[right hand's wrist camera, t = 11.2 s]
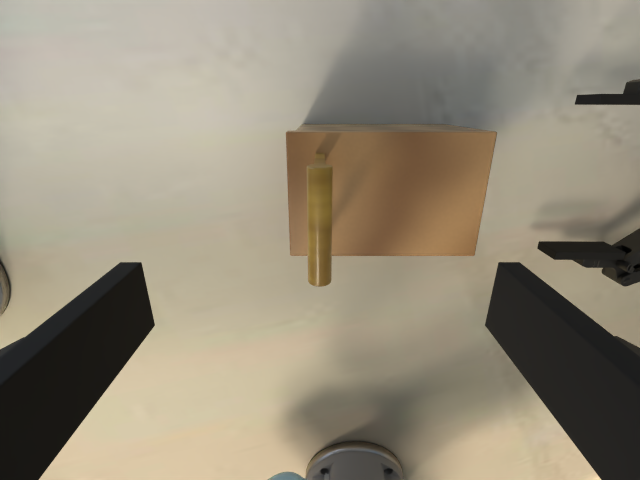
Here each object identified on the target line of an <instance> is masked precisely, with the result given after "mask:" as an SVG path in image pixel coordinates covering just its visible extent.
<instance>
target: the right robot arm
mask: <svg viewBox="0 0 640 480" xmlns="http://www.w3.org/2000/svg"><path fill="white" fill-rule="evenodd" d="M8 300H9V284H8V279H7V276H6V274H5V271H4V269H3V267H2V265H1V264H0V315H1V314H2V313H3V312H4V310H5V309H6V306H7V304H8ZM154 326H155V324H154V319H153V314H152V310H151V305H150V300H149V296H148V291H147V287H146V282H145V277H144V273H143V268H142V263H141V262H120V263H119V264H118V265H117V266H115V267H114V268H113V269H111V270H110V271H109V272H108V273H106V274H105V275H104V276H103V277H101V278H100V279H99V280H97V281H96V282H95V283H94V284H92V285H91V286H90V287H89V288H87V289H86V290H85V291H83V292H82V293H81V294H80V295H78V296H77V297H76V298H74V299H73V300H72V301H71V302H69V303H68V304H67V305H66V306H64V307H63V308H62V309H60V310H59V311H58V312H57V313H55V314H54V315H53V316H52V317H50V318H49V319H48V320H46V321H45V322H44V323H43V324H41V325H40V326H39V327H37V328H36V329H35V330H34V331H32V332H31V333H30V334H29V335H27V336H26V337H23V338H21V339H20V340H18V341H16V342H14V343H12V344H10V345H8V346H6V347H4V348H2V349H0V480H39V478H40V477H41V476H42V474H43V473H44V472H45V470H46V469H47V468H48V466H49V465H50V464H51V462H52V461H53V460H54V458H55V457H56V456H57V454H58V453H59V452H60V450H61V449H62V448H63V446H64V445H65V444H66V442H67V441H68V440H69V439H70V437H71V436H72V435H73V433H74V432H75V431H76V429H77V428H78V427H79V425H80V424H81V423H82V421H83V420H84V419H85V417H86V416H87V415H88V413H89V412H90V411H91V409H92V408H93V407H94V405H95V404H96V403H97V401H98V400H99V399H100V397H101V396H102V395H103V393H104V392H105V391H106V389H107V388H108V387H109V385H110V384H111V383H112V381H113V380H114V379H115V377H116V376H117V375H118V373H119V372H120V371H121V370H122V368H123V367H124V366H125V364H126V363H127V362H128V360H129V359H130V358H131V356H132V355H133V354H134V352H135V351H136V350H137V348H138V347H139V346H140V344H141V343H142V342H143V340H144V339H145V338H146V336H147V335H148V334H149V332H150V331H151V330H152V328H153V327H154ZM485 326H486V327H487V328H488V330H489V331H490V332H491V334H492V335H493V336H494V338H495V339H496V340H497V342H498V343H499V344H500V346H501V347H502V348H503V350H504V351H505V352H506V354H507V355H508V356H509V358H510V359H511V360H512V362H513V363H514V364H515V366H516V367H517V368H518V370H519V371H520V372H521V373H522V375H523V376H524V377H525V379H526V380H527V381H528V383H529V384H530V385H531V387H532V388H533V389H534V391H535V392H536V393H537V395H538V396H539V397H540V399H541V400H542V401H543V403H544V404H545V405H546V407H547V408H548V409H549V411H550V412H551V413H552V415H553V416H554V417H555V419H556V420H557V421H558V423H559V424H560V425H561V427H562V428H563V429H564V431H565V432H566V433H567V435H568V436H569V437H570V439H571V440H572V441H573V442H574V444H575V445H576V446H577V448H578V449H579V450H580V452H581V453H582V454H583V456H584V457H585V458H586V460H587V461H588V462H589V464H590V465H591V466H592V468H593V469H594V470H595V472H596V473H597V474H598V476H599V477H600V478H601V480H640V348H639V347H637V346H635V345H633V344H631V343H629V342H627V341H625V340H623V339H621V338H619V337H618V336H613V335H611V334H610V333H609V332H608V331H606V330H605V329H604V328H603V327H601V326H600V325H599V324H597V323H596V322H595V321H594V320H592V319H591V318H590V317H588V316H587V315H586V314H585V313H583V312H582V311H581V310H580V309H578V308H577V307H576V306H574V305H573V304H572V303H571V302H569V301H568V300H567V299H566V298H564V297H563V296H562V295H560V294H559V293H558V292H557V291H555V290H554V289H553V288H551V287H550V286H549V285H548V284H546V283H545V282H544V281H543V280H541V279H540V278H539V277H537V276H536V275H535V274H534V273H532V272H531V271H530V270H529V269H527V268H526V267H525V266H523V265H522V264H521V263H520V262H499V263H498V268H497V273H496V277H495V282H494V286H493V291H492V296H491V300H490V305H489V310H488V314H487V319H486V324H485Z"/></svg>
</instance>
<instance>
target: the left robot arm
mask: <svg viewBox="0 0 640 480" xmlns="http://www.w3.org/2000/svg"><path fill="white" fill-rule="evenodd" d="M575 104H582V105H640V79H638V80H632V81H629V82H627V83H626V86H625V89H624V93H623V94H591V95H577V98H576V102H575ZM538 249H539V250H541V251H542V252H544V253H545V254H547V255H548V256H550V257H551V258H553V259H554V260H574V261H575V262H577V263H578V264H580V265H582V266H584V267H586V268H592V267H593V268H596V267H597V268H603V269H602V273H603V274H604V275H606V276H607V277H609V278H611V279H612V280H614V281H616V282H617V283H619V284H621V285H622V286H629V285H632V284H634V283H637V282H640V229H638V230H637V231H635V232H633V233H632V234H630V235H628V236H627V237H625V238H623V239H622V240H620V241H619V242H617V243H615V244H614V245H612V246H611V245H609V244H607V243H605V242H539V244H538ZM268 480H404V477H403V473H402V468H401V465H400V463H399V461H398V459H397V458H396V457H395V456H394V455H393V454H392V453H391V452H390V451H388V450H387V449H385V448H383V447H381V446H378V445H375V444H371V443H366V442H345V443H340V444H336V445H333V446H330V447H328V448H326V449H324V450H322V451H321V452H319V453H318V454H317V455H316V456H315V457H314V458H313V459H312V460H311V461H310V463H309V465H308V467H307V470H306V479H305V478H302V477H301V476H300V475H298V474H296V473H294V472H283V473H279V474H277V475H274V476H273V477H271V478H269V479H268Z"/></svg>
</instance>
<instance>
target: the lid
mask: <svg viewBox="0 0 640 480" xmlns="http://www.w3.org/2000/svg"><path fill="white" fill-rule="evenodd" d="M496 135H497V132H493V131H287V132H286V147H287V176H288V204H289V232H290V255H291V256H308V281H309V283H310V284H311V285H314V286H326V285H328V284H330V282H331V260H332V256H474V255H475V249H476V244H477V238H478V233H479V227H480V222H481V216H482V211H483V206H484V200H485V195H486V189H487V184H488V178H489V173H490V168H491V162H492V157H493V151H494V146H495V140H496Z"/></svg>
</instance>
